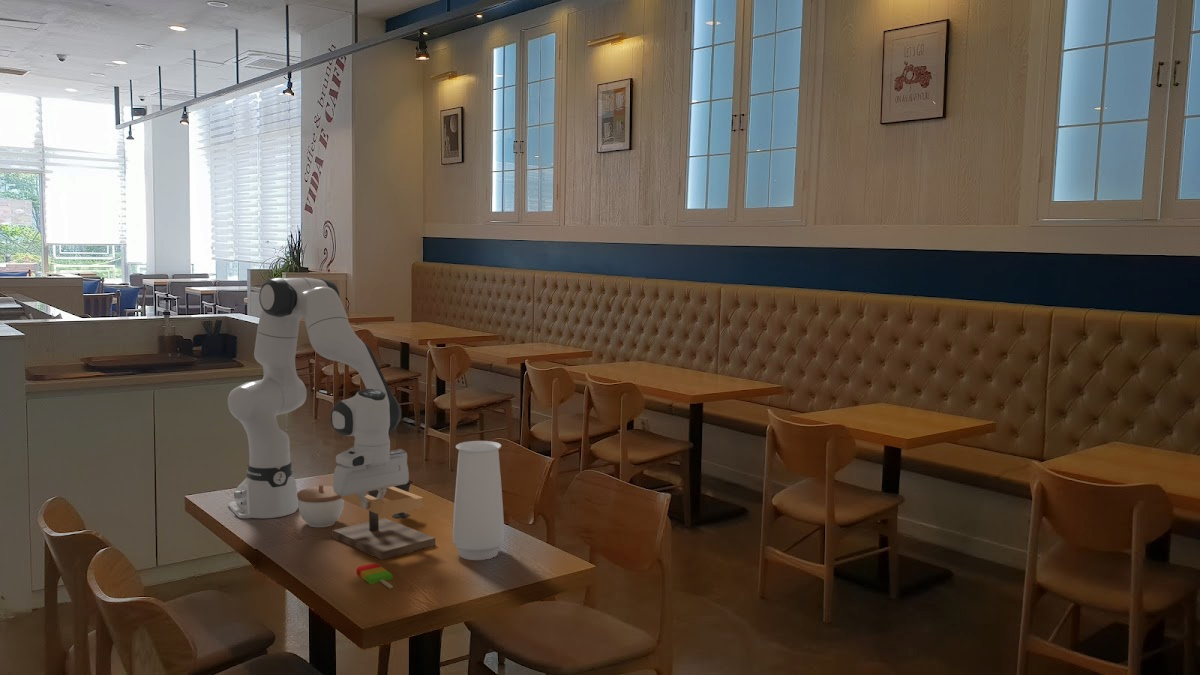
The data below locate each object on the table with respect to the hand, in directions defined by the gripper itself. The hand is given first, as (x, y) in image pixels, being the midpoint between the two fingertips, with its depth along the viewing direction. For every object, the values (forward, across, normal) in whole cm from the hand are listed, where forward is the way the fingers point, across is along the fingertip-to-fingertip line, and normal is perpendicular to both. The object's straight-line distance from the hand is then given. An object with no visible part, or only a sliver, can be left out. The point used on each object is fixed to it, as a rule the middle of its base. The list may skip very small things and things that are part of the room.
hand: (372, 506), depth 236 cm
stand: (+11, -5, -3) cm, 13 cm away
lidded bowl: (+12, -1, -28) cm, 30 cm away
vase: (+11, -17, +22) cm, 30 cm away
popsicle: (+12, +11, +20) cm, 25 cm away
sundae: (+11, -21, -19) cm, 31 cm away
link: (+1, -5, -3) cm, 6 cm away
